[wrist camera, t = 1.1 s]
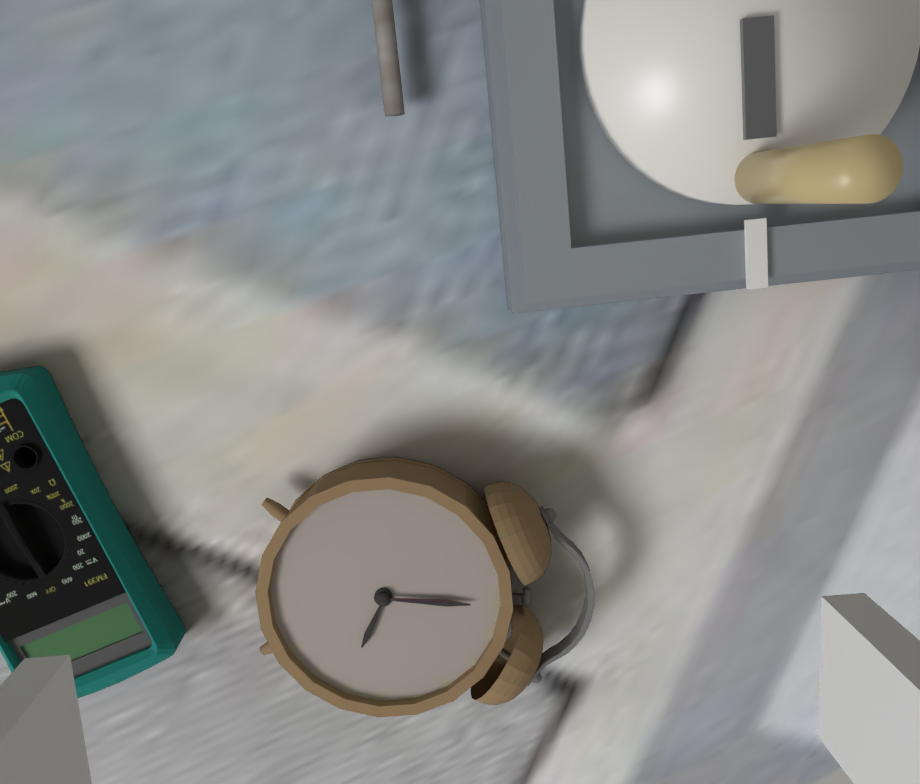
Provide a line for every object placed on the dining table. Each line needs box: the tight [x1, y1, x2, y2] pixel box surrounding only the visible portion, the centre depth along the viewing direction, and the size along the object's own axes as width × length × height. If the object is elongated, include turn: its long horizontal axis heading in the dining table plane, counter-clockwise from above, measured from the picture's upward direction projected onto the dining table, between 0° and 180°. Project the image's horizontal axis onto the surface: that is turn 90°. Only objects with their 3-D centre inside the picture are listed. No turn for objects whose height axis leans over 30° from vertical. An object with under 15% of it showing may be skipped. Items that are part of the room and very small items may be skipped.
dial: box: [579, 0, 920, 205], centre depth 29 cm, size 13×13×10 cm
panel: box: [480, 0, 920, 313], centre depth 35 cm, size 20×20×3 cm
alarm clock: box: [256, 457, 594, 717], centre depth 39 cm, size 11×5×15 cm
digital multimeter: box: [0, 366, 185, 698], centre depth 38 cm, size 7×15×3 cm, turn 22°
